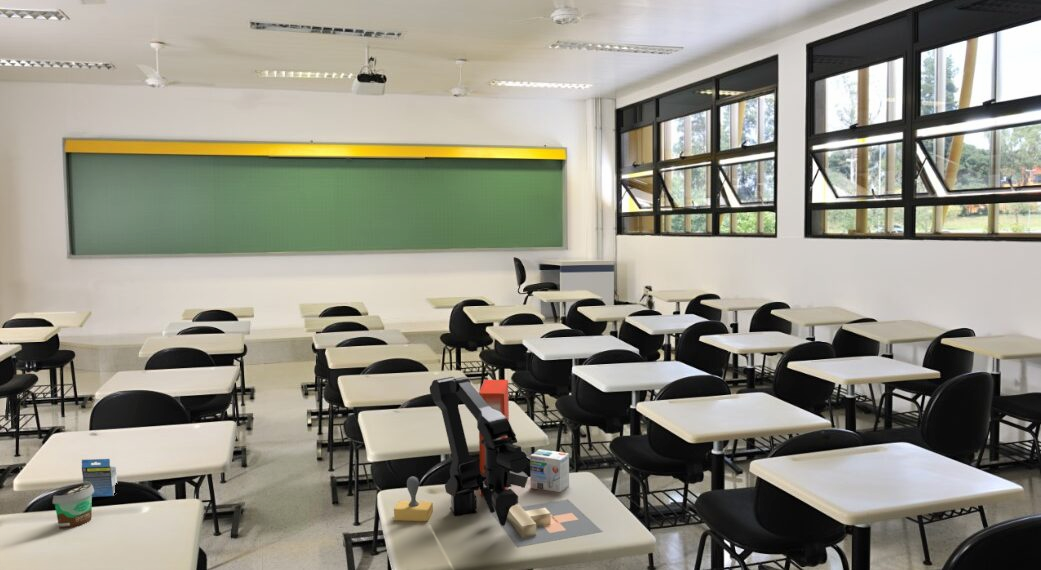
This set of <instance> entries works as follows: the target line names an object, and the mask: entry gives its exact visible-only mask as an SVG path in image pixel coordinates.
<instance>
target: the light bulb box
mask: <svg viewBox="0 0 1041 570" xmlns="http://www.w3.org/2000/svg"><path fill="white" fill-rule="evenodd" d="M529 468H530V469H529V470H530V471H529V472H530V480H529V481H530V485H529V486H530V489H533V490H538V491H542V490H546V491H551V492H557V493H561V492H562V491H564V490H565V489H566V488H569V487H570V454H569V453H568V452H560V451H555V450H548V449H547V450H546V449H541V448H539V449H537V450H536V451H534V452H533V453H532V454H530V455H529Z"/></svg>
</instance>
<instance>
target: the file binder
mask: <svg viewBox="0 0 1041 570" xmlns="http://www.w3.org/2000/svg"><path fill="white" fill-rule="evenodd" d="M478 393H479V394H480V396H481V397H482V398H483V399H484V400H485V402H486V403H487V404H488V405H489V406H490V407H491V408H492V409H494V410H497V411H499V412H501V413H502V414H503V415H504V416H505V417H506V418H507V419H508V421H509V422H510V420H509V416H510V415H509V411H510V410H509V405H510V404H509V380H508V379H484V380H483V383H482V385H481V387H480V389H479V392H478ZM478 434H479V435H478V441H479V442H478V444H479V446H478V447H479V468H480V471H481V473H485V472H486V471H485V470H484V467H483V465H485V445H483V444H481V443H480V442H481V441H482V440H483V439H484V438H483V437H482V435H481V433H480V432H479V431H478ZM504 438H508V437H507V436H505V437H502V438H498V439H497V440H500V439H504ZM505 489H508V488H507V487H505ZM479 491H480V492H479V493H480V497H483V495H482V493H481V490H480V489H479Z"/></svg>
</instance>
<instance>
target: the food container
mask: <svg viewBox="0 0 1041 570" xmlns="http://www.w3.org/2000/svg"><path fill="white" fill-rule="evenodd" d="M93 493H94V488H93V486H92V484H91V483H90V482H87V481H84V484H82V485H80V486H78V487H76V488H72V489H70V490H68V491H66V492H65V493H63V494H61V495H53V498H52V504H53V505H54V507H55V513H56V518H57V523H58V529H59V530H65V529H66V530H67V529H73V528H78V527H80V526H84V525H86V524H88V523H89V522H90V521H91V520H92V519H91V518H92V515H93V514H92V511H93V509H92V505H93V504H92V499H93V497H92V494H93ZM87 522H88V523H87ZM85 523H86V524H85ZM83 524H84V525H83ZM77 526H78V527H77Z"/></svg>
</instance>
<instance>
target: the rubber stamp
mask: <svg viewBox="0 0 1041 570" xmlns="http://www.w3.org/2000/svg"><path fill="white" fill-rule="evenodd" d="M419 487H420V482H419V478H418V477H416V476H410V477H408V478H407V480H406V488H407V490H408V493H409V495H410V498H411V499H410V500H399V501H398V503H397V504H396V505H395V506H394V508H393V518H394V520H393V521H397V522H398V521H400V522H429V521H430V518H431V517H432V515H433V513H434V504H433V501H423V500H422V501H418V500H417V499H416V498H417V494H418V490H419Z"/></svg>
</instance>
